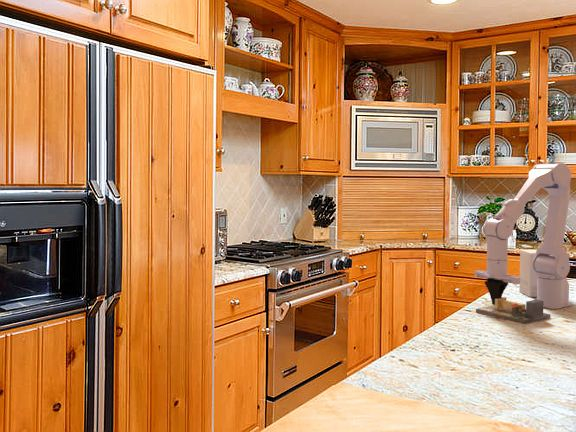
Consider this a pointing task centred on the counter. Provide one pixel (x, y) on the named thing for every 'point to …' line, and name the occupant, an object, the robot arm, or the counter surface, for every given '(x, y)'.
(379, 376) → the counter surface
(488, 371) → the counter surface
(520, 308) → the wooden u-shaped cradle
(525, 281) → the supplement box
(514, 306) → the orange and grey block
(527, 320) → the gauge base
